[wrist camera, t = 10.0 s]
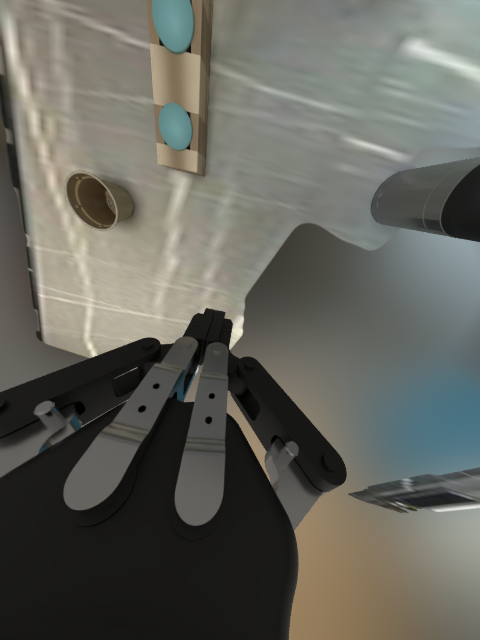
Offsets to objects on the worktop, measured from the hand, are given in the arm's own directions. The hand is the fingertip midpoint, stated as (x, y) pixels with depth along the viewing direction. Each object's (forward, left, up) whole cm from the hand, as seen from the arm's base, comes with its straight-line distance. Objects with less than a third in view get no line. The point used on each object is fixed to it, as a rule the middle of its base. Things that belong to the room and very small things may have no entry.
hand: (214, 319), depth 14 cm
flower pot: (+29, -2, -36) cm, 46 cm away
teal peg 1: (+13, -25, -36) cm, 45 cm away
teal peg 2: (+13, -15, -36) cm, 41 cm away
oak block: (+13, -20, -36) cm, 43 cm away
